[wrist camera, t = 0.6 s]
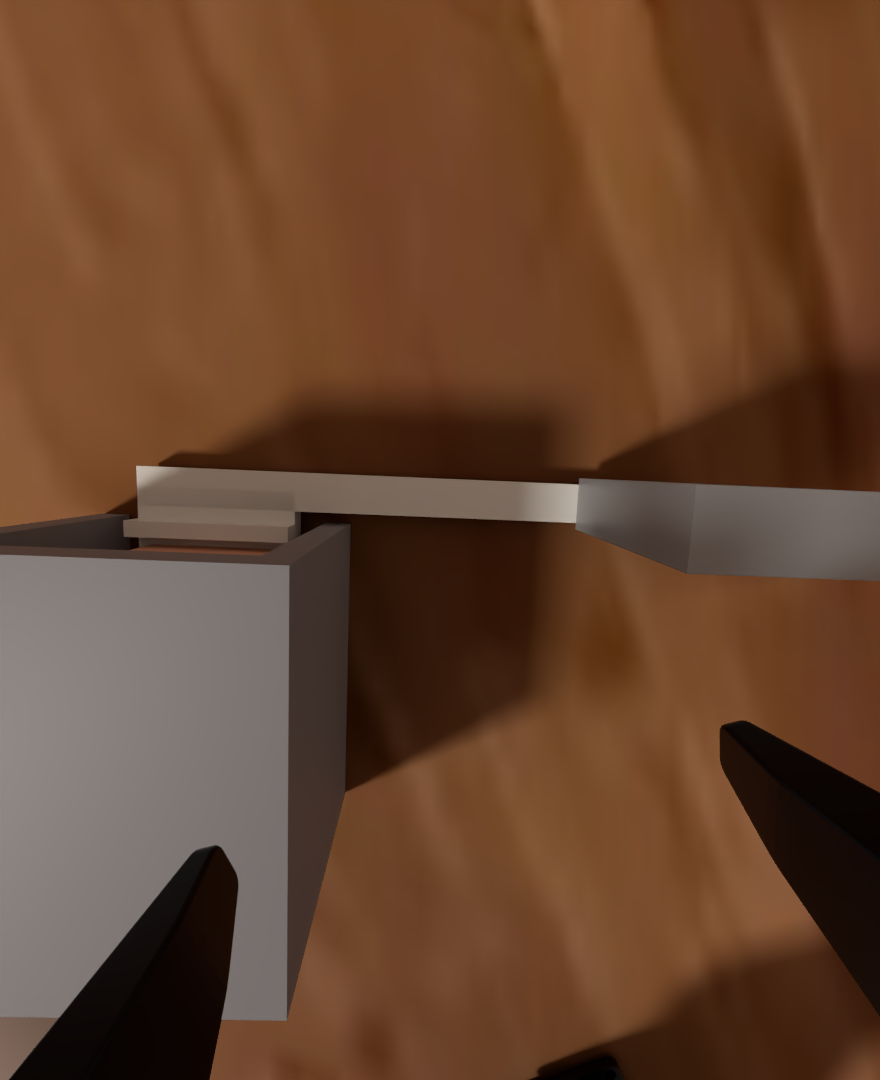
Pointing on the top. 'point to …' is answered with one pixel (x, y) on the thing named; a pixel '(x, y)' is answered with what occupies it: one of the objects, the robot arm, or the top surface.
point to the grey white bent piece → (534, 515)
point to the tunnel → (165, 747)
